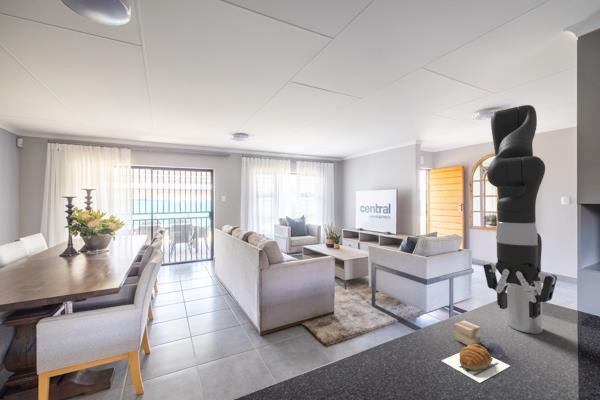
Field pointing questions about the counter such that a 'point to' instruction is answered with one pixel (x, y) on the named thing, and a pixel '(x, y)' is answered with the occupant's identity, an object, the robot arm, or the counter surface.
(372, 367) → the counter surface
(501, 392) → the counter surface
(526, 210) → the robot arm
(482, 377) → the letter
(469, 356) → the pastry
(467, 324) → the maple cube
